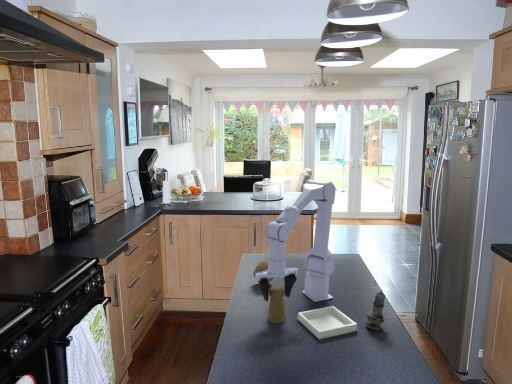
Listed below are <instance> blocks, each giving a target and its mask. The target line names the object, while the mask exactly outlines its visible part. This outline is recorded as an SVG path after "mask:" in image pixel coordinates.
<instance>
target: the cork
mask: <svg viewBox="0 0 512 384" xmlns="http://www.w3.org/2000/svg"><path fill="white" fill-rule="evenodd" d="M268 294H269V296H270V298H269V299H270V300H269V305H268V306H269V307H268V314H267V321H269V322H270V323H273V324H281V323H283V322H286V321H287V320H286V310H285V302H284V297H285V287H282V286H279V285H274V286H271V287H269V292H268Z"/></svg>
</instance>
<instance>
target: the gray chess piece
mask: <svg viewBox="0 0 512 384" xmlns="http://www.w3.org/2000/svg"><path fill="white" fill-rule="evenodd" d="M385 299H386V295H385V294H384V293H383V290H382V289H381V290H380V292H376V294H375V296H374V301H373V302H372V309H371V311H367V312H366V317H367V320H368V321H367V322H365V326H366V327H368V328H369V329H372V330H375V331H383V327H382V326H381V325H382V324H383V323H384V322H385V320H386V316H385V315H383V309H384V307H385Z"/></svg>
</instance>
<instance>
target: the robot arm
mask: <svg viewBox="0 0 512 384" xmlns="http://www.w3.org/2000/svg"><path fill="white" fill-rule="evenodd" d="M336 189H337V188H336V186H335V184H334V182H332V181H324V180H317V179H315V180H314V179H312V178H311V179H310V178H309V179H307V180H306V181H305V182H304V184H303V185H302V192H301V193H300V194H299V196H298V197H297V199H296V200H295V201H294V203H293V204H292V205H288V206H286V207H285V208H284V210H283V211H282V212H281V213H280V214H279V215H278V216H277V218H276V219H275V220H273V221H270V222H269V223H267V224H266V226H265V229H264V235H265V237H266V238H265V239H266V243H267V244H268V249H267V250H268V251H267V252H268V258H267V259H268V260H267V261H268V270H266V271H263V272H260V273H255V278H254V279H255V280H256V281H257V282H258V284H259V286H260V289H261V291H262V296H263V300H264V301H265V302H268V301H269V299H270V298H269V296H270V295H269V289H270V286H271V282H268V280H267V279H269V278H274V279H276V278H279V279H282V278H283V279H284V280H283V281H284V291H285V295H284V297H287V298H290V296H291V294H292V293H291V292H292V290H293V287H294V285H295V283H296V282H297V276H299V269H298V268H297V267H287V241H288V239H289V238H290V237H291V233H292V231H293V228H294V226H295V225H296V224H297V222H298V221H299V220H300V219H301V212H302V211H304V209H305V208H306V207H308V205H309V204H310V203H312V201H313V202H315V204H316V206H317V209H316V221H315V228H314V238H313V245H312V248H311V249H308V250H307V253H306V256H305V259H304V268H305V269H306V271H307V272H305V275H304V290H302V294H305V296H307V298H309V299H310V300H312V301H313V302H314V303H315V302H320V301H327V300H331V299H334V296H332V295H331V294H329V288H330V287H329V285H330V284H329V283H330V281H329V280H330V276H331V275H332V274H333V272H334V270H335V262H334V261H335V260H334V258H335V257H334V256H335V255H334V254H333V253H332V252H331V250H329V241H330V240H329V239H330V231H331V222H332V221H331V219H332V210H333V205H334V204H335V197H336Z"/></svg>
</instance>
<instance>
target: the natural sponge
mask: <svg viewBox="0 0 512 384" xmlns="http://www.w3.org/2000/svg"><path fill="white" fill-rule="evenodd" d="M266 270H268V260H266V259H264V260H261V261H259V262H258V263H257V265H256V266H255V268H254V270H253V274H252V275H253V277H254V279H255V273H260V272H263V271H266ZM274 279H275V278H269V279H267V280H268V282H269V283H271V282H272V281H273V280H274Z"/></svg>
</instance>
